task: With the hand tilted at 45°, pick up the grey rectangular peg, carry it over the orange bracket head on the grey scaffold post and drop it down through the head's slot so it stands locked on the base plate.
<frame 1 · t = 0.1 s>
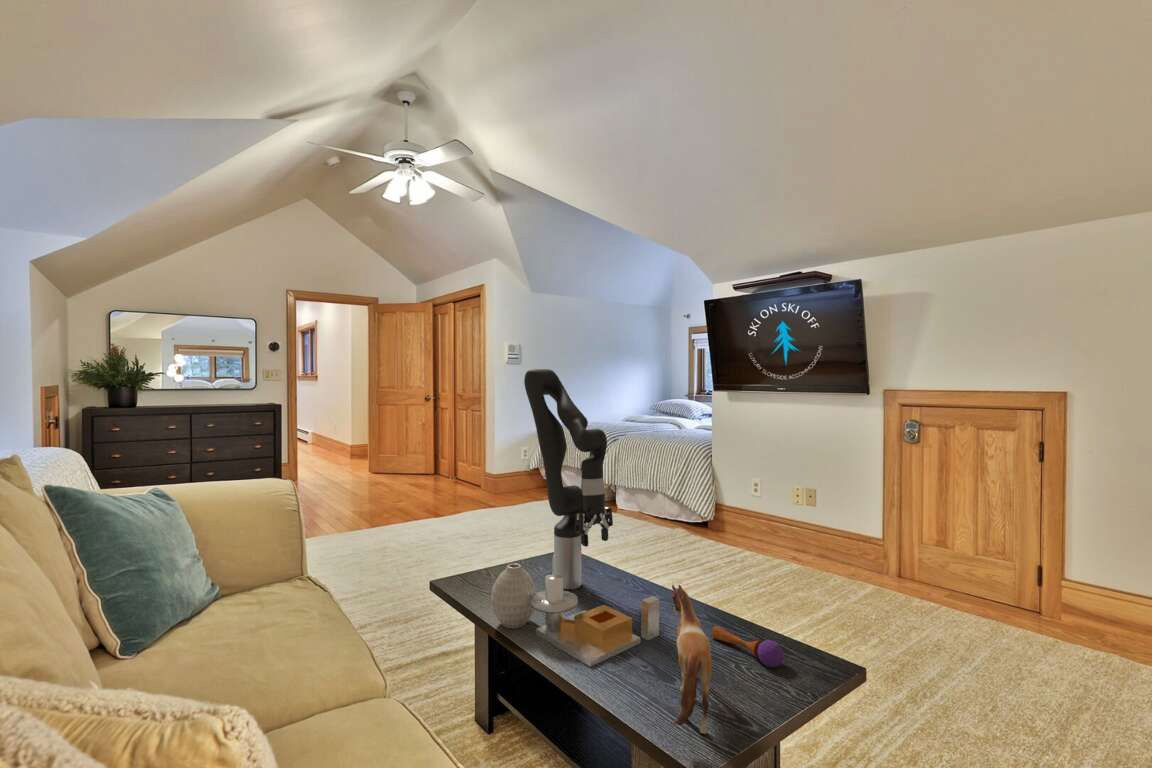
hand: (595, 543, 173), 17 cm above the table, tool pointing down, fingers open, 8 cm apart
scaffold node: (587, 638, 146), on the table
grey rectangular peg: (650, 636, 148), on the table
kendama: (746, 654, 139), on the table
horse figurine: (677, 705, 117), on the table
vase: (514, 624, 155), on the table
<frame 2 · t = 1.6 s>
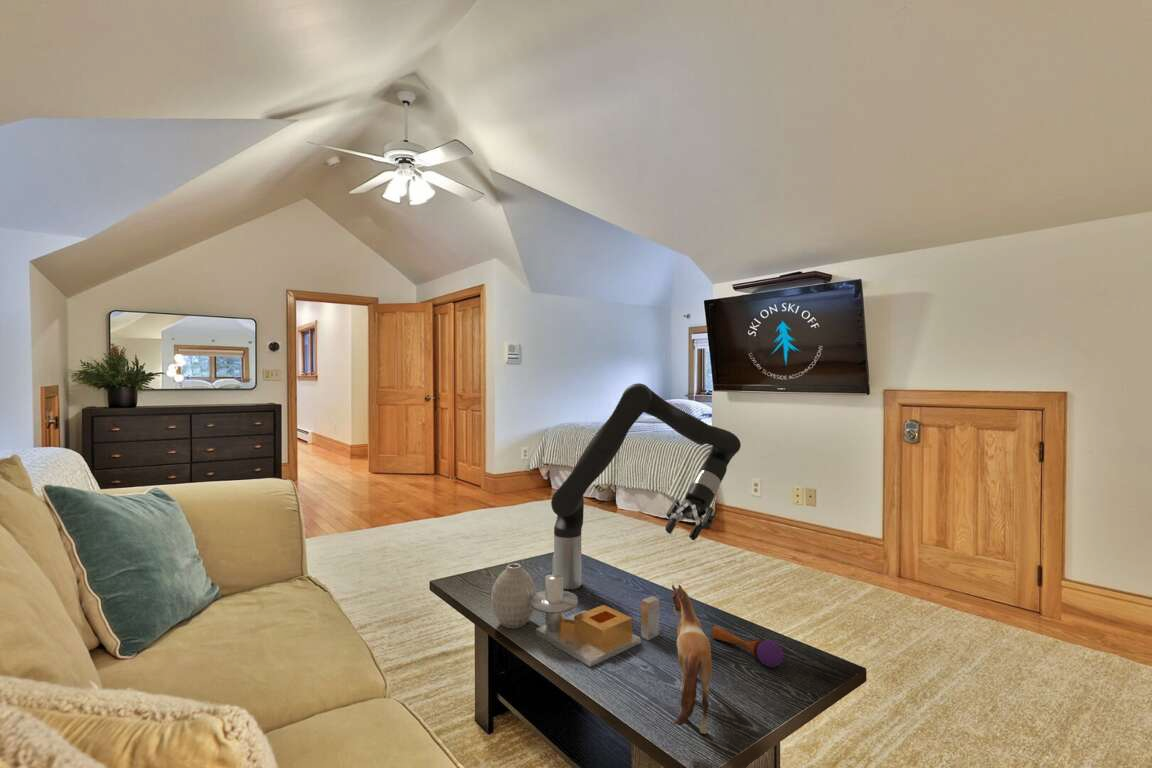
hand: (679, 535, 155), 25 cm above the table, tool tilted 45°, fingers open, 8 cm apart
nothing on the table moved.
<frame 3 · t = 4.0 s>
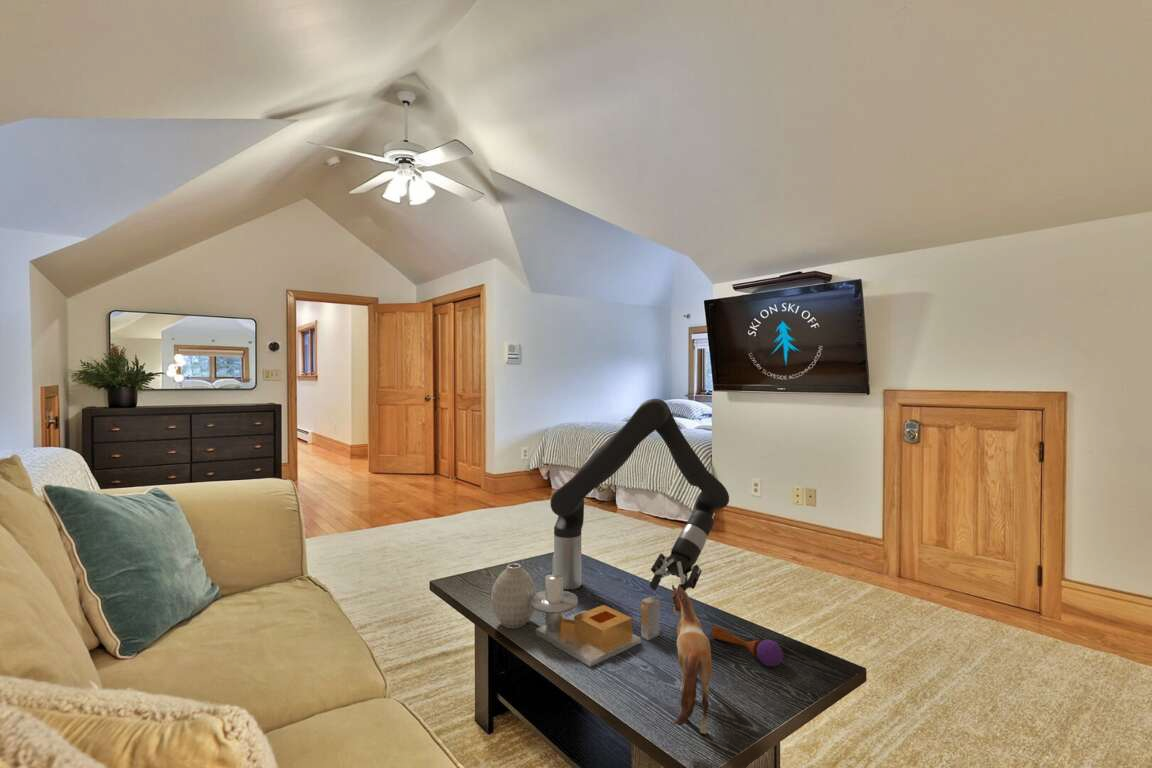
hand: (664, 593, 151), 10 cm above the table, tool tilted 45°, fingers open, 8 cm apart
nothing on the table moved.
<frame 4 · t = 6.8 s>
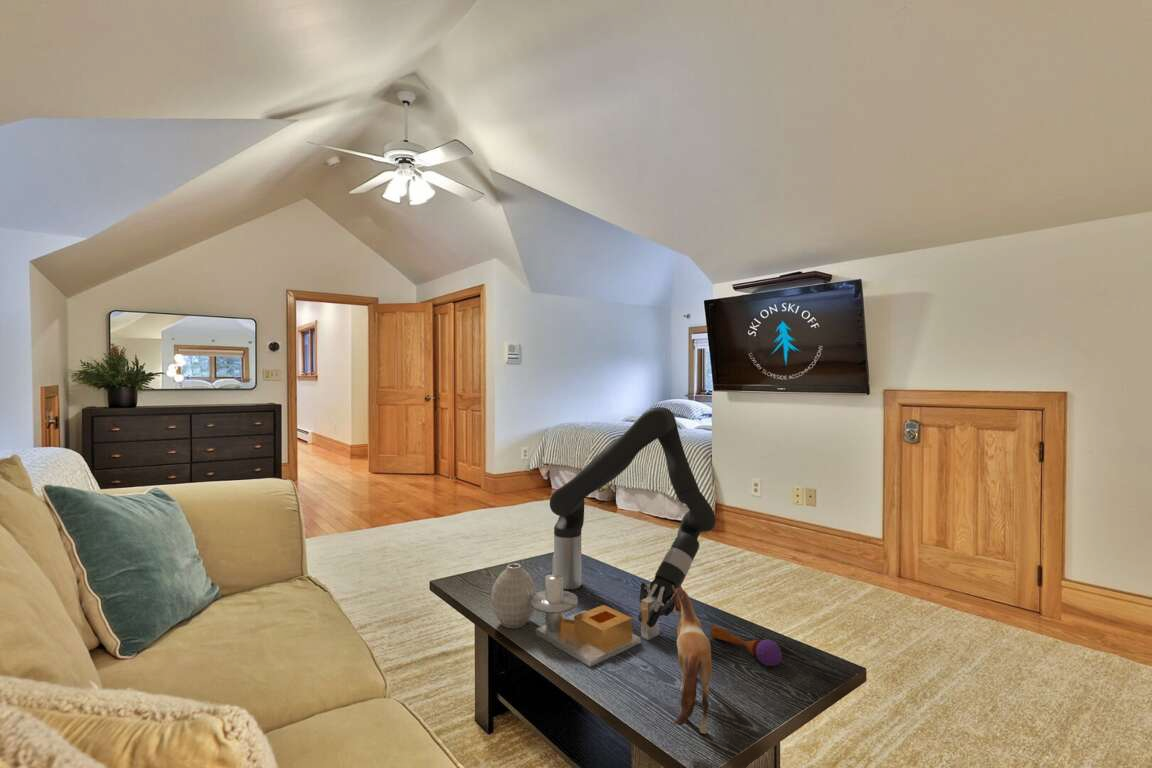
hand: (644, 623, 146), 4 cm above the table, tool tilted 45°, fingers closed on grey rectangular peg, 2 cm apart
grey rectangular peg: (649, 635, 148), on the table, touching gripper
everything else where it was.
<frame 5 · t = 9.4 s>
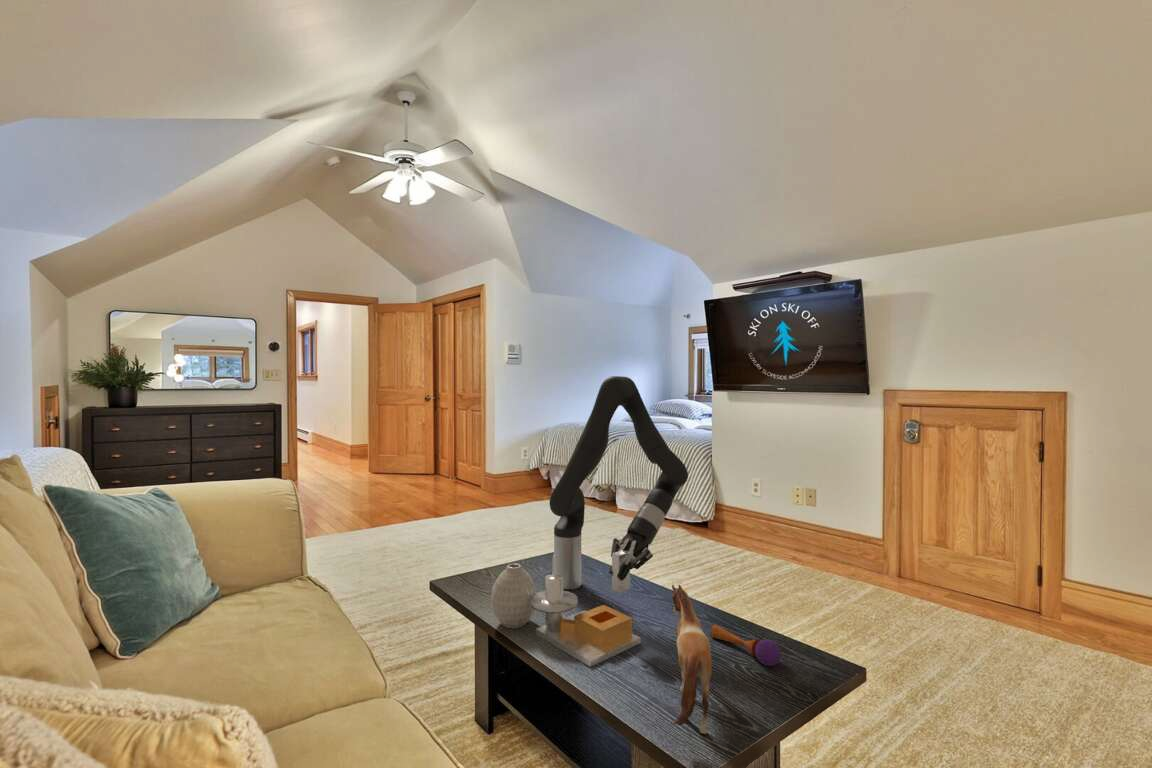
hand: (615, 576, 145), 17 cm above the table, tool tilted 45°, fingers closed on grey rectangular peg, 2 cm apart
grey rectangular peg: (620, 589, 146), point 13 cm above the table, touching gripper
everything else where it was.
when the fingers open (12 cm above the table, at t = 12.2 s): grey rectangular peg drops 6 cm, resting on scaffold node.
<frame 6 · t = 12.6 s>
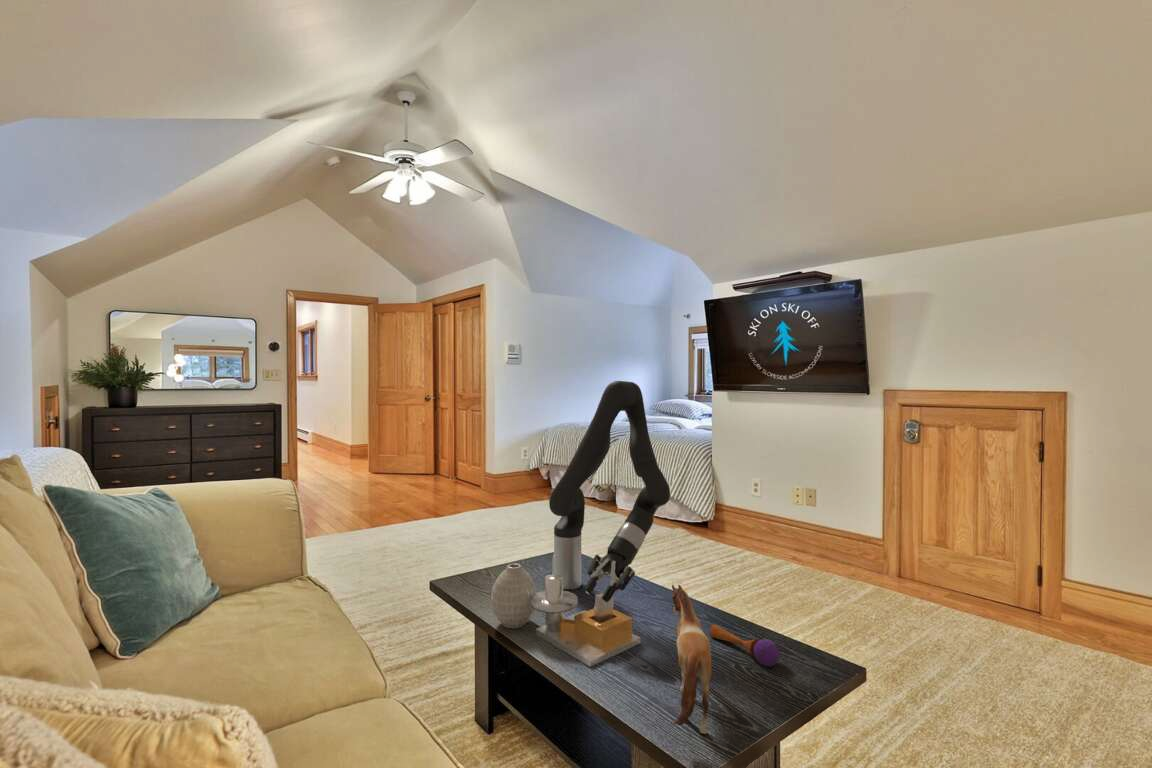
hand: (595, 596, 144), 12 cm above the table, tool tilted 45°, fingers open, 6 cm apart
grey rectangular peg: (602, 632, 146), point 2 cm above the table, touching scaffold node
everything else where it was.
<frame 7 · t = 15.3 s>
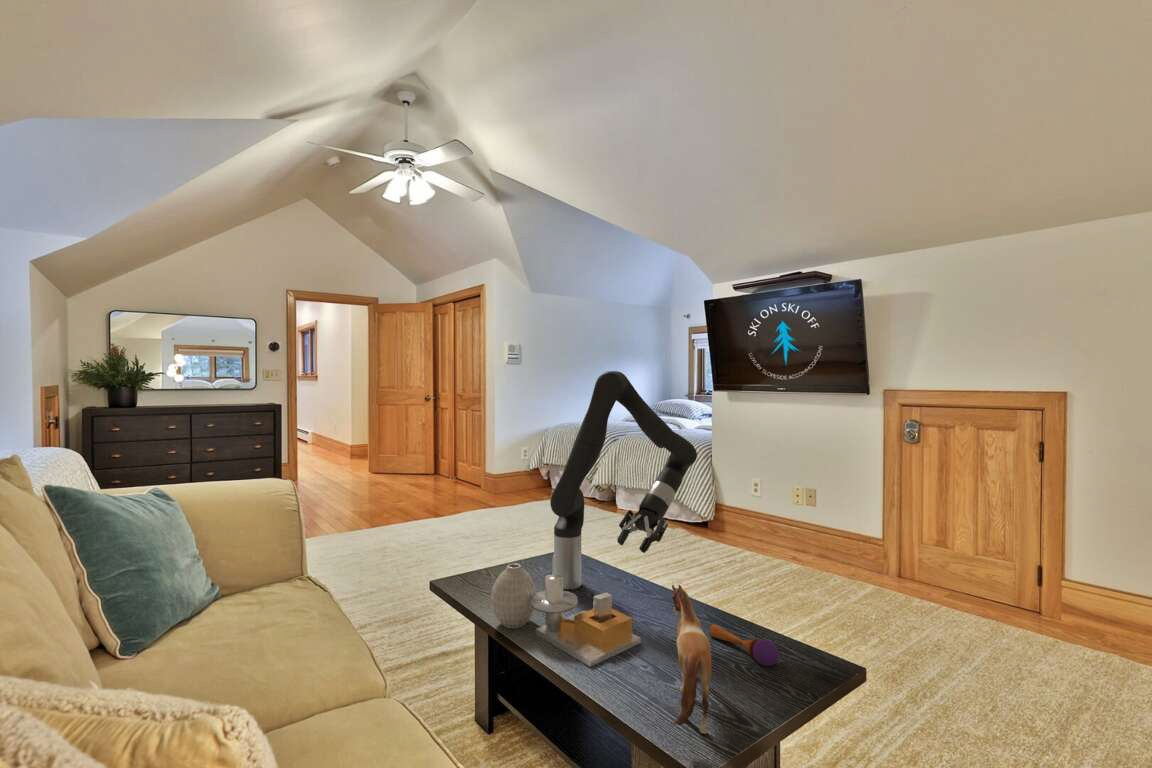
hand: (630, 547, 152), 23 cm above the table, tool tilted 45°, fingers open, 8 cm apart
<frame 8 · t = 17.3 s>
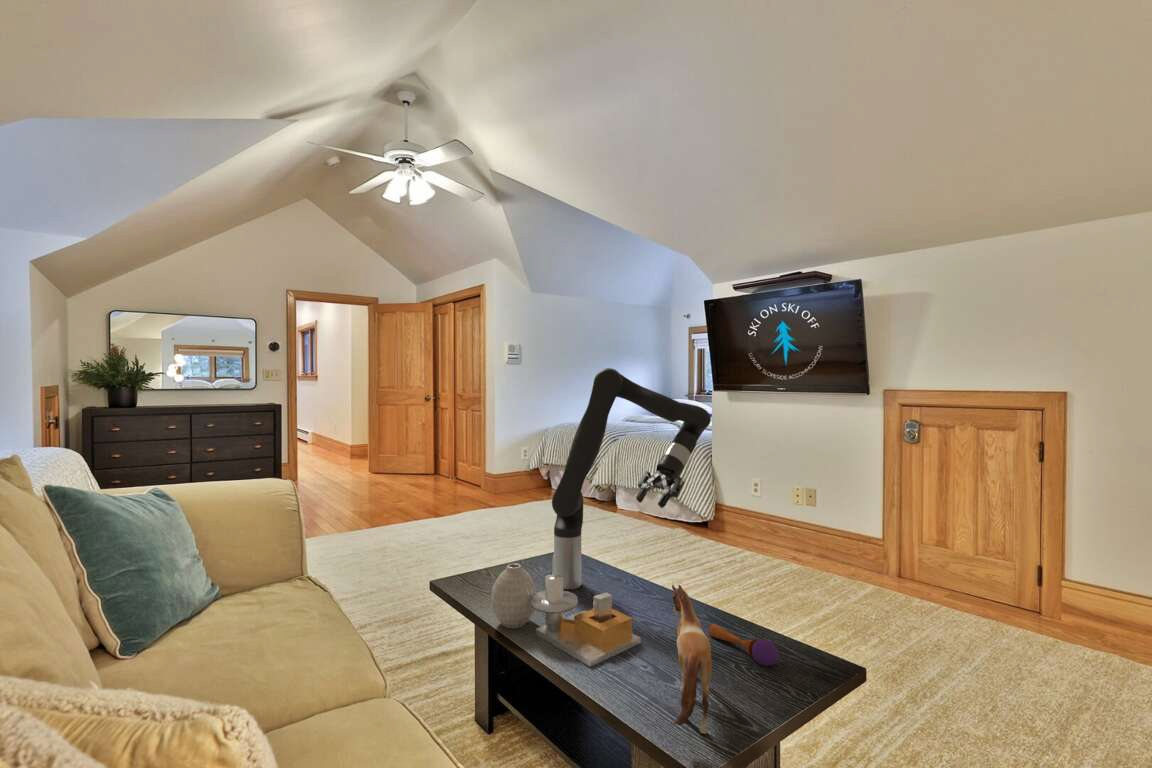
hand: (649, 503, 162), 33 cm above the table, tool tilted 45°, fingers open, 8 cm apart
at the end: grey rectangular peg 0.5 cm from the target spot on the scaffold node, point 1.5 cm above the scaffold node's base; grey rectangular peg tilted 0°; the gripper is holding nothing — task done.
